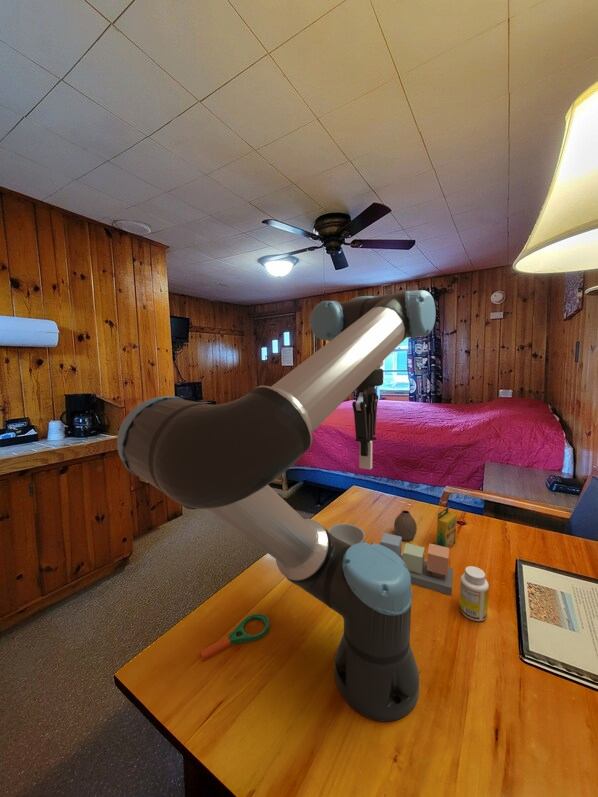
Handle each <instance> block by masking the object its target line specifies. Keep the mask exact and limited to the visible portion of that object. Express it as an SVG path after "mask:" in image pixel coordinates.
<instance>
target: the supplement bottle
mask: <svg viewBox="0 0 598 797" xmlns="http://www.w3.org/2000/svg"><path fill="white" fill-rule="evenodd" d="M489 586H490V585H489V582H488V580H487V579H486V573H485V571H484V570H483V569H481V568H479V567H478V566H473V565H471V566H470V565H468V566H466V567H465V570H464V573H463V574H461V577H460V587H459V609H460V611H461V613H462V614H463V616H465V617H466V618H467V619H469V620H471V621H474V622H482V621H484V620H487V617H488V609H489V608H488V606H489V604H488V603H489V592H490V591H489V590H490V589H489Z"/></svg>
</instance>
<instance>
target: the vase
mask: <svg viewBox="0 0 598 797" xmlns="http://www.w3.org/2000/svg"><path fill="white" fill-rule="evenodd" d="M393 522H394V523H393V531H394V533H395V535H396V536H400V537H402V541H406V542H409V541H411V540H413V539H414V538H415V536H416V534H417V531H418V529H417V528H418V526H417V523H416V522H417V521H416V520H415V518H414V517H413V515H411V513H410V511H409V510H407V509H404V510H401V512H400V513H399V514H398V515H397V517H396V518H395V520H394V521H393Z"/></svg>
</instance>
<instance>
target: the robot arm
mask: <svg viewBox="0 0 598 797" xmlns="http://www.w3.org/2000/svg"><path fill="white" fill-rule="evenodd" d="M436 312H437V311H436V305H435V300H434V298H433V296H432V294H431V293H430V292H429V291H427V290H420V289H419V290H406V291H403V292H396V293H392V294H384V295H379V296H376V295H375V296H374V295H373V296H372V295H363V296H356V297H354V298H351V299H350V300H347V301H337V300H322V301H320V302H319V303H317V304H316V305H315V307H314V308H313V310H312V311H311V314H310V330H311V332H312V334H313V336H315V337H316V338H317V339H319V340H321V341H328V342H327V343H326V344H324V345H323V346H322V347H320V348H319V349H318V350H317V351H315V352H314V353H313V354H311V355H310V356H308V358H306V359H305V360H304V361H303V362H301V363H300V364H298V365H297V366H296V367H294V368H293V369H292V370H290V371H289V372H288V373H287V374H286V375H285V376H283V377H281V379H279V380H277V381H276V382H275V383H274V384H272V385H271V386H268V385H259V386H256V387H254V388H253V389H252V390H250V391H249V392H248V393H247V394H245V395H243V396H241V397H240V398H238V399H235V400H232V401H229V402H225V403H220V404H210V403H204V402H199V401H194V400H193V401H192V400H188V399H184V398H182V397H179V396H173V395H169V396H168V395H167V396H159V397H158V396H157V397H152V398H149V399H147V400H145V401H143V402H141V403H138V404H137V405H136V406H134V408H133V409H131V410H130V411H129V413H127V415H126V416H125V417H124V419H123V421H122V423H121V425H120V427H119V429H118V433H117V438H116V439H117V440H116V444H117V445H116V447H117V452H118V456H119V457H120V460H121V461H122V463H123V464H124V466H125V468H126V469H127V470H128V472H129V473H132V474H133V475H134V476H136V477H139V478H141V479H143V480H144V481H145V482H147V483H148V484H150V485H151V486H152V487H154V488H156V489H157V490H158V491H160V492H162V493H163V494H164V495H165V496H167V497H168V498H169V499H171V500H173V501H174V502H176V503H177V504H179V505H180V506H181V507H184V509H187V510H188V511H189V510H190V511H200V510H208V511H210V512H211V513H212V514H214V515H215V516H216V517H217V518H219V519H220V520H221V521H223V523H226V524H227V525H229V526H230V527H231V528H232V529H234V530H235V531H237V532H238V533H240V534H241V535H242V536H244V537H245V538H246V539H247V540H250V541H251V542H252V543H253V544H254V545H256V546H257V547H258V548H260V549H261V550H263V551H264V552H266V553H267V554H268V555H270V557H273V558H274V559H275V563H276V566H277V568H278V571H279V573H281V575H283V576H284V578H286V580H287V581H289V582H290V583H292V584H293V585H296V586H298V587H299V588H300V589H302V590H304V591H305V592H307V593H308V594H310V595H311V596H313V598H315V599H317V600H318V601H320V602H322V604H324V605H326V606H327V607H328V608H330V609H331V610H333V611H334V612H335V613H337V614H338V615H340V616H341V617H342V618H343V633H342V635H341V638H340V641H339V644H338V645H337V648H336V652H335V654H334V655H335V656H334V678H335V679H334V680H335V682H336V686H337V689H338V691H339V693H340V695H341V697H342V698H343V699H344V700H345V702H346V703H347V704H348V705H349V706H350V707H351V708H352V709H353V710H354V711H355V712H357V713H358V714H360V715H362V716H364V717H366V718H368V719H371V720H374V721H379V722H393V721H397V720H400V719H402V718H404V717H405V716H407V715H408V714H409V713H410V712H411V711H412V710H413V709H414V708H415V706H416V705H417V701H418V699H419V694H420V674H419V668H418V666H417V662H416V658H415V655H414V653H413V651H412V647H411V644H410V643H411V641H410V640H411V617H412V602H413V590H412V584H411V577H410V573H409V571H408V569H407V566H406V564H405V563H404V561H403V560H402V559H401V558H400V557H399V556H398V555H397V554H396V553H395V552H393V551H392V550H390V549H388V548H386V547H384V546H382V545H380V543H379V544H378V543H376V542H375V543H374V542H373V543H372V544H370V543H369V542H365V541H364V542H363V543H357V544H354V545H349V544H347V543H345V542H343V541H341V540H339V539H337V538H335V537H334V536H333V535H331V534H330V533H329V532H328V529H326V527H324V526H323V525H322V524H321V523H320V522H319V521H317V520H315V519H311V518H303V516H301V515H300V514H299V513H298V512H297V511H296V510H295V509H294V508H293V506H291V505H289V503H288V502H287V501H286V500H285V499H283V497H282V496H280V495H279V493H278V492H276V491H275V490H274V489H273V488H272V487H271V486H270V484H271V483H273V482H274V481H275V480H277V479H278V478H280V477H281V476H282V475H283V474H284V473H286V472H287V471H288V470H289V469H290V468H291V467H293V465H295V463H297V462H298V460H300V459H301V457H303V455H304V454H305V453H306V452H308V450H309V449H310V448H311V446H312V444H313V433H314V432H315V430H316V429H318V427H320V425H322V424H323V422H324V421H326V419H327V418H328V417H329V416H330V415H331V414H333V412H334V411H336V409H337V408H338V407H340V405H341V404H342V403H344V401H345V400H346V399H347V398H348V397H349V396H350V395H351V394H352V393H353V392H354V391H355V390H356V393H355V398H354V399H355V400H354V401H352V403H351V404H352V410H353V417H354V429H355V430H354V431H355V439H354V440H355V442H358V444H359V447H358V448H359V451H358V452H359V455H358V456H359V460H358V462H359V463H358V464H359V466H358V468H359V469H363V470H369V471H370V470H372V469H373V441H376V440H377V436H376V427H377V426H376V425H377V413H378V412H377V411H378V403H379V395H377V392H376V387H380V386H382V385H383V384H384V369H383V368H381V367H383V366H384V361H385V360H386V359H387V357H388V356H390V355H391V354H392V352H394V351H395V350H396V349H397V348H398V346H400V345H401V343H403V342H404V341H405V340H406V339H408V338H412V339H415V338H419V337H425V336H427V335H429V334H430V333H431V332H432V330H433V329H434V326H435V324H436V323H435V322H436V317H437V316H436V314H437V313H436Z"/></svg>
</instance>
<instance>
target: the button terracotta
mask: <svg viewBox="0 0 598 797" xmlns="http://www.w3.org/2000/svg"><path fill="white" fill-rule="evenodd" d="M426 556H427V557H426V558H427V560H426V562H427V570H428V571H432V572H435V573H439V574H443V575H446V576H448V567H449V562H450V549H449V548H447V547H443V546H439V545H436V544H434V543H429V544H428V550H427V555H426Z"/></svg>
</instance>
